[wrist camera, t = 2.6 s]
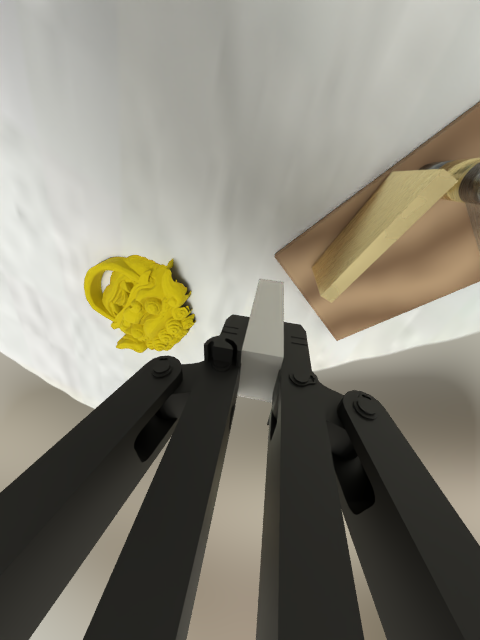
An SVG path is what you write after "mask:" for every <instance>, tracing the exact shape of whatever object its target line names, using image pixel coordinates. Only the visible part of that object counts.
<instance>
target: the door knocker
mask: <svg viewBox="0 0 480 640" xmlns="http://www.w3.org/2000/svg"><path fill="white" fill-rule="evenodd" d="M172 267H173V259H172V260H171V261H169V263H168V265H167V266H165V265H160V264H157V263H155V261H153V260H148V259H147V258H146V257H141V256H139V255H131V256H129V257H127V258H124V257H112V258H109V259H107V260H105V261H103V262H101V263H99V264H97V265H96V266H94V267H92V268H91V269H89V270H88V272H87V274H86V276H85V280H84V290H85V295H86V299H87V301H88V302H89V304H90V305H91V307H92V308H93V309H94V310H95V311H97V312H98V313H100V314H101V315H103V316H104V317H106V318H108V319H110V320H111V321H113V323H112V324H111V327H112V328H113V329H116V328H120V329H121V331H123V332H124V333H125V334H126V335H125V336H124V337H123V338H121V339H120V340H119V341H118V342H117V346H116V348H119V349H125V348H129V349H132V350H134V351H136V352H138V353H142V352H144V351H145V350H146V349H147V348H149V349H151V350H153V349H155V350H157V351H162V350H163V349H164V350H166V351H168V350H170V349H171V348H172V347H173V346H174V344H176V343H178V342H179V341H181V339H182V338H183V337H184V336H185V335H187V333H188V330H187V329H189V328H191V327H192V326H193V325H194V323H195V322H196V320H195V322H193V320H192V319H194V316H195V314H192V315H190V316H188V315H189V314H190V313H191V311H192V309H191V311H190V310H189V313H188V311H187V309H186V308H188V307H189V306H186V308H185V307H182V308H179V307H180V306H181V305H183V304H184V302H185V301H186V300H187V299H188V297H189V296H190V295H191V291H190V293H189V294H187V295H185V293H186V291H187V287H184V285H183V284H182V283H181V284H180V283H177V280H176V282H174V281H173V280H172V277H171V275H172V273H171V271H170V270H169V269H170V268H172ZM105 270H111V271H113V272H112V275H111V278H110V285H108V286H107V287H106V289H105V290H104V292H103V293H102V290H101V278H102V275H103V273H104V272H105ZM188 309H189V308H188ZM187 316H188V317H187ZM186 317H187V318H186ZM190 318H191V319H190Z"/></svg>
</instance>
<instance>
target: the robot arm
mask: <svg viewBox="0 0 480 640" xmlns="http://www.w3.org/2000/svg"><path fill="white" fill-rule="evenodd" d="M237 396H242V397H247V398H252V399H257V400H261V401H267V402H271V401H272V409H271V413H270V416H269V419H268V423H267V425H269V436H268V453H267V468H266V484H265V501H264V518H263V534H262V550H261V566H260V582H259V599H258V614H257V631H256V640H364V636H363V630H362V625H361V619H360V613H359V607H358V602H357V596H356V590H355V584H354V578H353V573H352V567H351V561H350V555H349V550H348V544H347V538H346V533H345V527H344V521H343V516H342V512H343V515H344V518H345V521H346V523H347V526H348V529H349V532H350V535H351V538H352V541H353V543H354V546H355V549H356V552H357V555H358V558H359V560H360V563H361V566H362V569H363V572H364V574H365V578H366V581H367V583H368V586H369V589H370V592H371V595H372V598H373V601H374V603H375V606H376V609H377V612H378V615H379V618H380V621H381V623H382V626H383V629H384V632H385V635H386V638H387V640H480V546H479V544H478V543H477V541H476V540H475V539H474V537H473V536H472V534H471V533H470V531H469V530H468V528H467V527H466V526H465V524H464V523H463V521H462V520H461V518H460V517H459V515H458V514H457V513H456V511H455V510H454V508H453V507H452V505H451V504H450V502H449V501H448V500H447V498H446V497H445V495H444V494H443V492H442V491H441V490H440V488H439V486H438V485H437V483H436V482H435V481H434V479H433V478H432V476H431V475H430V473H429V472H428V470H427V469H426V467H425V466H424V465H423V463H422V462H421V460H420V459H419V457H418V456H417V454H416V453H415V452H414V450H413V449H412V447H411V446H410V444H409V443H408V441H407V440H406V439H405V437H404V436H403V434H402V433H401V431H400V430H399V428H398V427H397V426H396V424H395V423H394V421H393V420H392V418H391V417H390V415H389V414H388V412H387V411H386V409H385V408H384V407H383V406H382V405H381V403H380V402H379V401H378V400H376V399H375V398H374V397H372V396H371V395H369V394H366V393H364V392H362V391H356V390H353V391H349V392H347V393H346V394H345V395H342V394H340V393H338V392H335V391H333V390H331V389H329V388H327V387H325V386H324V385H322V384H321V383H320V382H319V381H318V378H317V376H316V375H315V374H314V373H313V372H312V369H311V363H310V356H309V349H308V343H307V336H306V331H305V330H304V329H303V327H302V326H301V325H299V324H293V323H286V322H284V282H279V281H272V280H265V279H259V283H258V287H257V291H256V295H255V299H254V303H253V307H252V311H251V315H250V317H245V316H239V315H231V316H230V317H229V318H228V319H226V322H225V324H224V327H223V329H222V332H221V334H220V336H216V337H212V338H210V339H209V340H207V341H206V343H205V344H204V361H202V362H199V363H194V364H182V365H181V363H180V361H179V360H178V359H176V358H175V357H172V356H160V357H157V358H154V359H152V360H151V361H149V362H148V363H147V364H145V365H144V366H143V367H142V368H141V369H140V370H139V371H138V372H136V373H135V374H134V375H133V376H132V377H131V378H130V379H128V380H127V381H126V382H125V383H124V384H123V385H122V386H121V387H119V388H118V389H117V390H116V391H115V392H114V393H113V394H112V395H110V396H109V397H108V398H107V399H106V400H105V401H104V402H102V403H101V404H100V405H99V406H98V407H97V408H96V409H95V410H93V411H92V412H91V413H90V414H89V415H88V416H87V417H86V418H84V419H83V420H82V421H81V422H80V423H79V424H78V425H77V426H75V427H74V428H73V429H72V430H71V431H70V432H69V433H68V434H66V435H65V436H64V437H63V438H62V439H61V440H60V441H58V442H57V443H56V444H55V445H54V446H53V447H52V448H51V449H49V450H48V451H47V452H46V453H45V454H44V455H43V456H42V457H40V458H39V459H38V460H37V461H36V462H35V463H34V464H32V465H31V466H30V467H29V468H28V469H27V470H26V471H25V472H23V473H22V474H21V475H20V476H19V477H18V478H17V479H16V480H14V481H13V482H12V483H11V484H10V485H9V486H8V487H6V488H5V489H4V490H3V491H2V492H1V493H0V640H29V638H30V637H31V636H32V634H33V633H34V631H35V630H36V628H37V627H38V626H39V624H40V623H41V621H42V620H43V618H44V617H45V616H46V614H47V613H48V611H49V610H50V608H51V607H52V606H53V604H54V603H55V601H56V600H57V598H58V597H59V596H60V594H61V593H62V591H63V590H64V588H65V587H66V586H67V584H68V583H69V581H70V580H71V579H72V577H73V576H74V574H75V573H76V571H77V570H78V569H79V567H80V566H81V564H82V563H83V561H84V560H85V559H86V557H87V556H88V554H89V553H90V551H91V550H92V549H93V547H94V546H95V544H96V543H97V541H98V540H99V539H100V537H101V536H102V534H103V533H104V531H105V530H106V529H107V527H108V526H109V524H110V523H111V521H112V520H113V519H114V517H115V515H116V514H117V513H118V511H119V510H120V509H121V507H122V506H123V504H124V503H125V501H126V500H127V498H128V497H129V496H130V494H131V493H132V491H133V490H134V489H135V487H136V486H137V484H138V483H139V481H140V480H141V478H142V477H143V476H144V474H145V473H146V471H147V470H148V469H149V467H150V466H151V464H152V463H153V461H154V460H155V459H156V457H157V456H158V454H159V453H160V451H161V450H162V449H163V447H164V446H165V444H166V443H167V441H168V440H169V439H170V437H171V436H172V437H171V439H170V442H169V444H168V446H167V448H166V451H165V453H164V455H163V457H162V460H161V462H160V464H159V467H158V469H157V471H156V474H155V476H154V478H153V481H152V483H151V485H150V487H149V489H148V492H147V494H146V497H145V499H144V501H143V503H142V505H141V508H140V510H139V512H138V515H137V517H136V519H135V521H134V524H133V526H132V529H131V531H130V533H129V535H128V537H127V540H126V542H125V545H124V547H123V549H122V551H121V554H120V556H119V558H118V560H117V563H116V565H115V568H114V570H113V572H112V574H111V576H110V579H109V581H108V583H107V586H106V588H105V590H104V592H103V595H102V597H101V599H100V602H99V604H98V606H97V608H96V611H95V613H94V616H93V618H92V620H91V622H90V625H89V627H88V629H87V631H86V634H85V636H84V638H83V640H186V638H187V634H188V628H189V624H190V619H191V615H192V609H193V605H194V600H195V596H196V591H197V586H198V581H199V576H200V572H201V567H202V562H203V558H204V553H205V548H206V543H207V539H208V534H209V529H210V524H211V520H212V515H213V510H214V506H215V501H216V496H217V491H218V487H219V481H220V477H221V472H222V467H223V462H224V458H225V453H226V449H227V444H228V439H229V434H230V429H231V425H232V420H233V415H234V410H235V403H236V398H237ZM341 509H342V510H341Z"/></svg>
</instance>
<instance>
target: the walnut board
mask: <svg viewBox="0 0 480 640" xmlns="http://www.w3.org/2000/svg"><path fill="white" fill-rule="evenodd" d="M472 158H480V102H478V103H477V104H476V105H474V106H473V107H472V108H470V109H469V110H468V111H466V112H465V113H464V114H462V115H461V116H460V117H458V118H457V119H456V120H454V121H453V122H452V123H450V124H449V125H448V126H446V127H445V128H444V129H442V130H441V131H440V132H438V133H437V134H436V135H434V136H433V137H431V138H430V139H429V140H427V141H426V142H425V143H423V144H422V145H421V146H419V147H418V148H417V149H415V150H414V151H413V152H411V153H410V154H409V155H407V156H406V157H405V158H403V159H402V160H401V161H399V162H398V163H397V164H395V165H394V166H393V167H391V168H390V169H388V170H387V171H386V172H384V173H383V174H382V175H380V176H379V177H378V178H376V179H375V180H374V181H372V182H371V183H370V184H368V185H367V186H366V187H364V188H363V189H362V190H360V191H359V192H358V193H356V194H355V195H354V196H352V197H351V198H350V199H348V200H347V201H346V202H344V203H343V204H341V205H340V206H339V207H337V208H336V209H335V210H333V211H332V212H331V213H329V214H328V215H327V216H325V217H324V218H323V219H321V220H320V221H319V222H317V223H316V224H315V225H313V226H312V227H311V228H309V229H308V230H307V231H305V232H304V233H303V234H301V235H300V236H299V237H297V238H296V239H294V240H293V241H292V242H290V243H289V244H288V245H286V246H285V247H284V248H282V249H281V250H280V251H278V252H277V253H276V254H275V258H276V259H277V261H278V262H279V263H280V265H281V266H282V267H283V269H284V270H285V271H286V273H287V274H288V275H289V277H290V278H291V280H292V281H293V282H294V284H295V285H296V286H297V288H298V289H299V290H300V292H301V293H302V294H303V296H304V297H305V298H306V300H307V301H308V303H309V304H310V305H311V307H312V308H313V309H314V311H315V312H316V313H317V315H318V316H319V317H320V319H321V320H322V321H323V323H324V324H325V326H326V327H327V328H328V330H329V331H330V332H331V334H332V335H333V336H334V338H335V339H336V340H337V341H338V340H340V339H343V338H345V337H347V336H350V335H352V334H355V333H357V332H359V331H362V330H364V329H367V328H369V327H371V326H374V325H376V324H378V323H381V322H383V321H386V320H388V319H390V318H393V317H395V316H398V315H400V314H402V313H405V312H407V311H410V310H412V309H414V308H417V307H419V306H422V305H424V304H426V303H429V302H431V301H434V300H436V299H438V298H441V297H443V296H446V295H448V294H450V293H453V292H455V291H458V290H460V289H462V288H465V287H467V286H470V285H472V284H474V283H477V282H479V281H480V253H479V249H478V246H477V242H476V239H475V236H474V232H473V229H472V225H471V222H470V219H469V215H468V212H467V208H466V205H465V203H463V202H455V201H448V200H441V199H439V200H438V201H437V202H436V203H435V204H434V205H433V206H432V207H431V208H430V209H429V210H428V211H427V212H426V213H425V214H423V215H422V216H421V217H420V218H419V219H418V220H417V221H416V222H415V223H414V224H413V225H412V226H411V227H410V228H409V229H408V230H407V231H406V232H405V233H404V234H403V235H402V236H401V237H400V238H399V239H398V240H396V241H395V242H394V243H393V244H392V245H391V246H390V247H389V248H388V249H387V250H386V251H385V252H384V253H383V254H382V255H381V256H380V257H379V258H378V259H377V260H376V261H375V262H374V263H373V264H372V265H371V266H369V267H368V268H367V269H366V270H365V271H364V272H363V273H362V274H361V275H360V276H359V277H358V278H357V279H356V280H355V281H354V282H353V283H352V284H351V285H350V286H349V287H348V288H347V289H346V290H345V291H343V292H342V293H341V294H340V295H339V296H338V297H337V298H336V299H335V300H334V301H333V302H332V303H331V302H329V301H328V300H326V299H324V298H323V297H321V296H320V293H319V289H318V286H317V283H316V280H315V277H314V274H313V271H312V267H313V265H314V264H315V263H316V262H317V261H318V259H319V258H320V257H321V256H322V255H323V253H324V252H325V251H326V250H327V249H328V248H329V246H330V245H331V244H332V243H333V242H334V240H335V239H336V238H337V237H338V236H339V234H340V233H341V232H342V231H343V230H344V228H345V227H346V226H347V225H348V224H349V223H350V221H351V220H352V219H353V218H354V217H355V215H356V214H357V213H358V212H359V211H360V209H361V208H362V207H363V206H364V205H365V204H366V202H367V201H368V200H369V199H370V198H371V196H372V195H373V194H374V193H375V192H376V190H377V189H378V188H379V187H380V186H381V184H382V183H383V182H384V181H385V180H386V179H387V177H388V176H389V175H390V174H391V173H392V172H395V171H412V170H419V169H420V168H421V167H423V166H424V165H426V164H429V163H433V162H443V161H452V160H462V159H472Z"/></svg>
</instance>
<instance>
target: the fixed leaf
mask: <svg viewBox="0 0 480 640" xmlns="http://www.w3.org/2000/svg"><path fill="white" fill-rule="evenodd" d="M452 161H454V160H452ZM448 162H451V161H443V162H433V163H429V164H426V165H424V166H423V167H421V168H420V169H419V170H430V169H439V168H441V167H442V166H443V165H445V164H446V163H448ZM458 194H459V197H460V199H461V200H462V201H463V202H465V205H466V208H467V212H468V215H469V219H470V222H471V225H472V229H473V232H474V236H475V239H476V242H477V246H478V249H479V253H480V162H479V163H478V164H476V165H475V166H474V167H472V168H471V169H470V170H469V171H468V172H467V174H466V175H465V176H464V178H463V179H462V181H461V183H460V186H459V190H458Z"/></svg>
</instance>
